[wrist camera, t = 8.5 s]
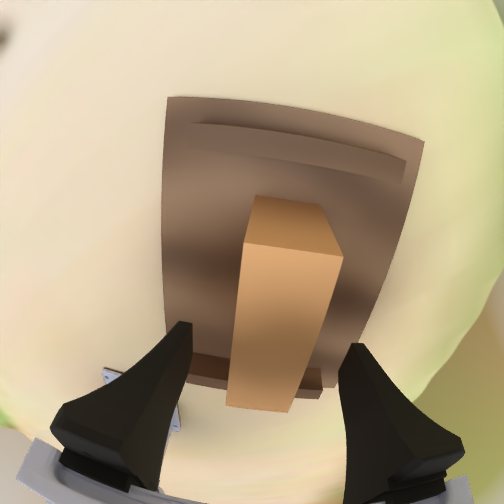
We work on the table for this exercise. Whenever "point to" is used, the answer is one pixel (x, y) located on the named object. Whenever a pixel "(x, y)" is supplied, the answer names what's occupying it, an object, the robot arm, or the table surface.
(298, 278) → the tall tan cuboid
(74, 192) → the table surface
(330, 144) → the walnut cradle
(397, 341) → the table surface
